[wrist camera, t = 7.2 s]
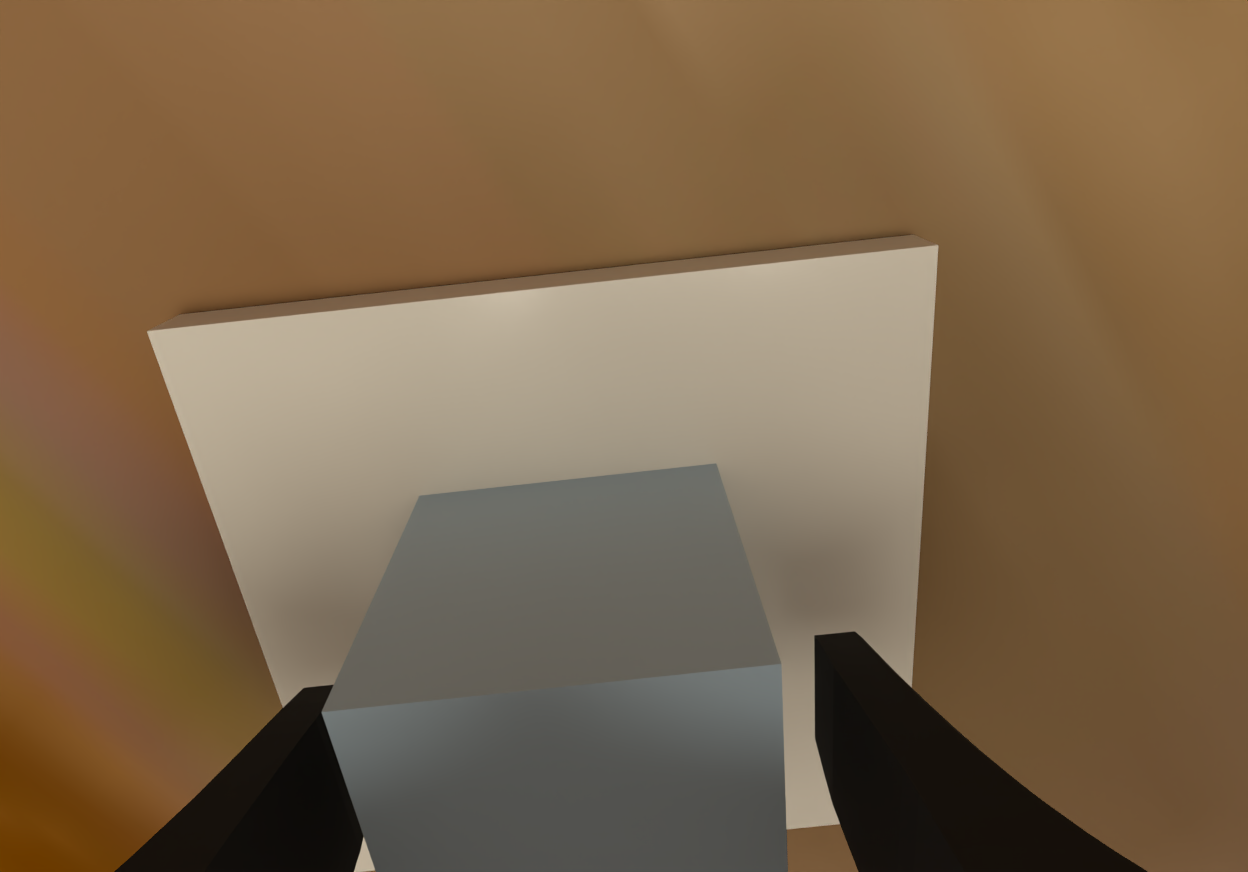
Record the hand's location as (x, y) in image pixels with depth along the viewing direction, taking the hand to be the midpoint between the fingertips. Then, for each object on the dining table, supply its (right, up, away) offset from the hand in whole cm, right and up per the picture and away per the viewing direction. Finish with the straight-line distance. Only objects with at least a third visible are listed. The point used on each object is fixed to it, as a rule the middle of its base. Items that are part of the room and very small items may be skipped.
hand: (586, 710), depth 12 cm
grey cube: (0, +1, +2) cm, 2 cm away
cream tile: (0, +1, +3) cm, 3 cm away
